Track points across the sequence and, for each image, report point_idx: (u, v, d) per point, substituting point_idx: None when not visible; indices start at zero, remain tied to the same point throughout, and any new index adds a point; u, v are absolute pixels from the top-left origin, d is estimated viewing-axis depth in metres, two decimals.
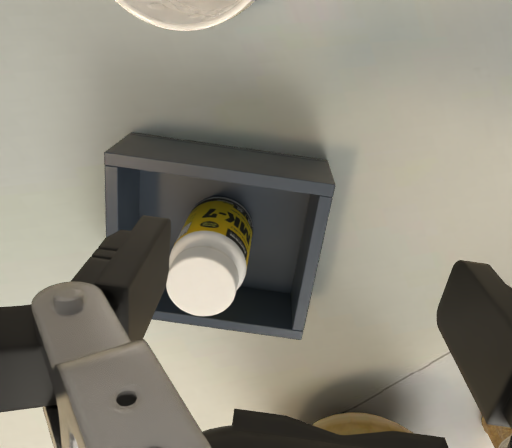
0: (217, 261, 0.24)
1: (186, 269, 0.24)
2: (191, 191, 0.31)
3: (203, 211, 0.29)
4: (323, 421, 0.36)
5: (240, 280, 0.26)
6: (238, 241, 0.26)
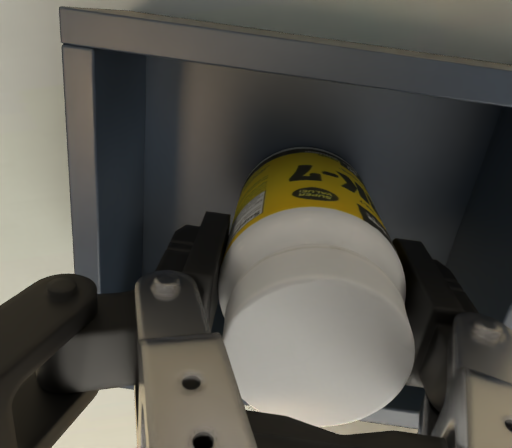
0: (375, 289, 0.08)
1: (282, 312, 0.08)
2: (248, 136, 0.16)
3: (284, 170, 0.13)
4: None
5: None
6: (386, 234, 0.11)
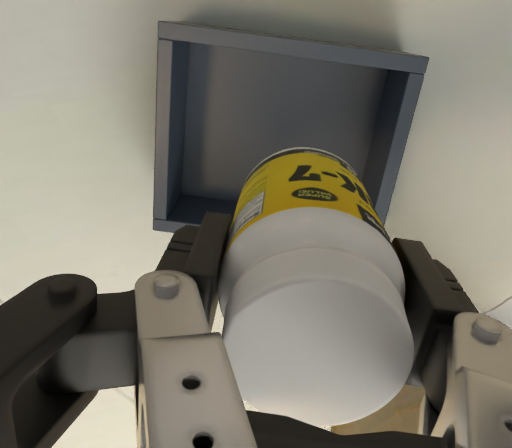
0: (374, 289, 0.08)
1: (282, 312, 0.08)
2: (246, 92, 0.27)
3: (284, 170, 0.13)
4: None
5: None
6: (385, 234, 0.11)
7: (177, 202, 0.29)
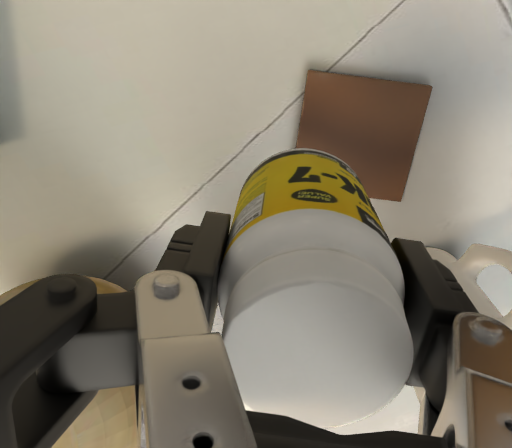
0: (374, 291, 0.08)
1: (282, 314, 0.08)
2: None
3: (284, 172, 0.13)
4: None
5: None
6: (385, 236, 0.11)
7: None
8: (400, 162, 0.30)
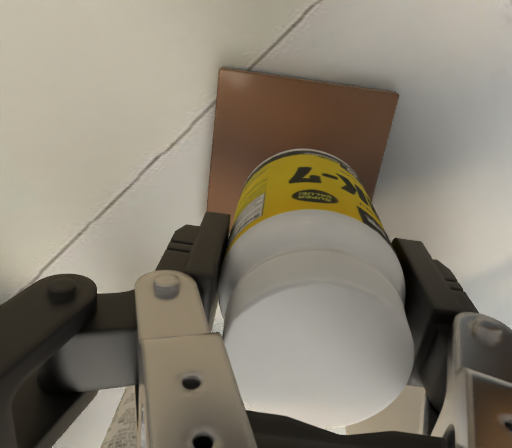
0: (374, 292, 0.08)
1: (282, 315, 0.08)
2: None
3: (284, 172, 0.13)
4: None
5: None
6: (385, 236, 0.11)
7: None
8: None
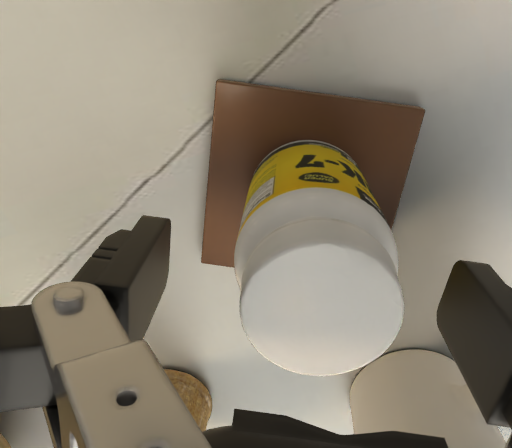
0: (370, 252, 0.10)
1: (292, 272, 0.10)
2: None
3: (291, 159, 0.15)
4: None
5: None
6: (381, 212, 0.12)
7: None
8: None
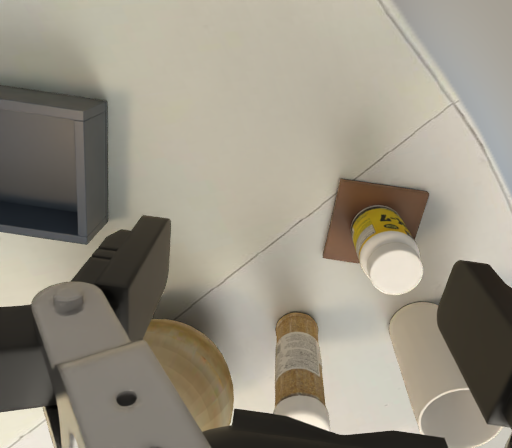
0: (413, 253, 0.32)
1: (389, 259, 0.33)
2: (4, 126, 0.39)
3: (376, 216, 0.37)
4: None
5: None
6: (413, 239, 0.35)
7: None
8: None
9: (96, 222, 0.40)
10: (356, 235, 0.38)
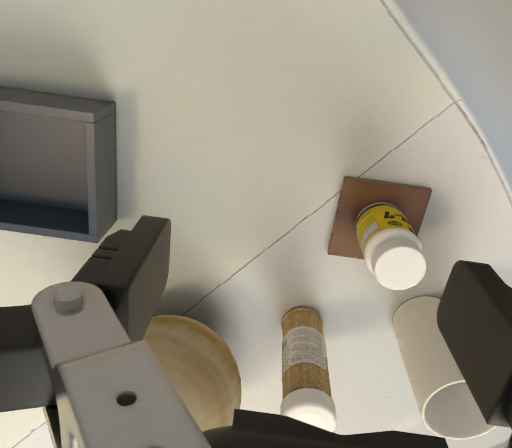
0: (416, 249, 0.33)
1: (393, 255, 0.33)
2: (14, 128, 0.40)
3: (380, 213, 0.38)
4: None
5: None
6: None
7: None
8: None
9: (106, 221, 0.40)
10: (360, 232, 0.39)
